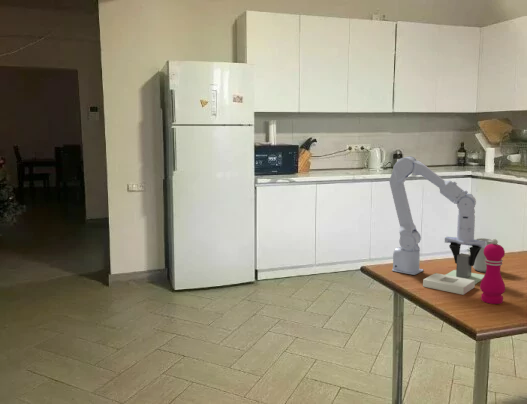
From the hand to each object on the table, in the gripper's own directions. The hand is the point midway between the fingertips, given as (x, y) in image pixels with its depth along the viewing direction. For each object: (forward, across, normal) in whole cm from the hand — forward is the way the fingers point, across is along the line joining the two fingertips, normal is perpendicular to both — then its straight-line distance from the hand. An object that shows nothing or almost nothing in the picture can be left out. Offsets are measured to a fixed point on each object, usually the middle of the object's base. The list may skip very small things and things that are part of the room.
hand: (464, 264), depth 180 cm
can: (+5, +2, +14) cm, 15 cm away
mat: (+5, 0, 0) cm, 5 cm away
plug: (+4, 0, 0) cm, 5 cm away
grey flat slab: (+5, 0, -14) cm, 15 cm away
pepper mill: (+5, +16, -19) cm, 25 cm away
